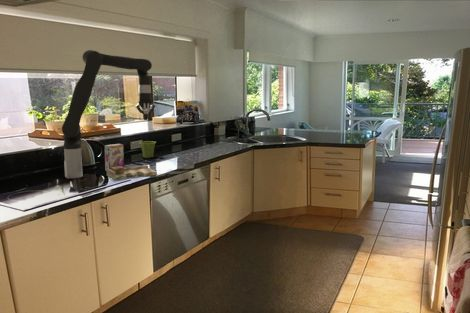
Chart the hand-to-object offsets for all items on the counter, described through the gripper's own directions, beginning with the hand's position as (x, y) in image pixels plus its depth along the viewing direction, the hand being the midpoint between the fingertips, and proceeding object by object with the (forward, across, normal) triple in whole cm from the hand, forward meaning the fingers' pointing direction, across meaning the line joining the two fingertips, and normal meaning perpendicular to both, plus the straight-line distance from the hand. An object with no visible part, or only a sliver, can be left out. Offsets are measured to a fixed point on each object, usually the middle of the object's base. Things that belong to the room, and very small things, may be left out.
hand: (145, 120), depth 253 cm
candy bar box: (+32, -18, +9) cm, 38 cm away
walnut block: (+30, -22, -8) cm, 38 cm away
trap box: (+32, -14, -10) cm, 36 cm away
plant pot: (+32, +17, +39) cm, 53 cm away
